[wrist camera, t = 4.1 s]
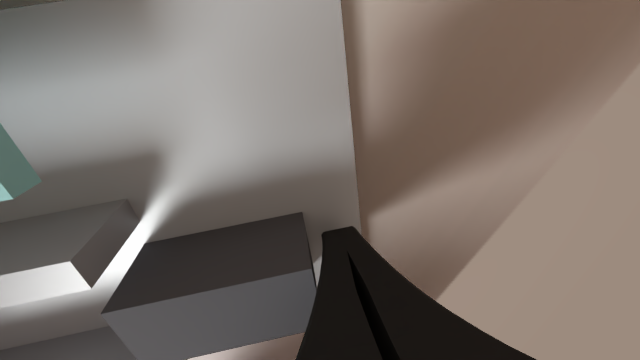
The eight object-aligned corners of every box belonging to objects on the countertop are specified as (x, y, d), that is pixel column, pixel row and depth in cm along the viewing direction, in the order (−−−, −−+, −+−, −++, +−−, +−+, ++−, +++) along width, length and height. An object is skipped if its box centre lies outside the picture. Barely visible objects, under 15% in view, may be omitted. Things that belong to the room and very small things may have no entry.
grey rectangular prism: (312, 264, 12) (324, 327, 9) (173, 293, 12) (144, 368, 9) (302, 211, 11) (311, 268, 8) (144, 243, 10) (100, 313, 8)
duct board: (362, 280, 14) (389, 355, 11) (-8, 362, 13) (-105, 475, 10) (331, -33, 8) (373, -85, 5) (-379, 72, 7) (-1003, 106, 3)
